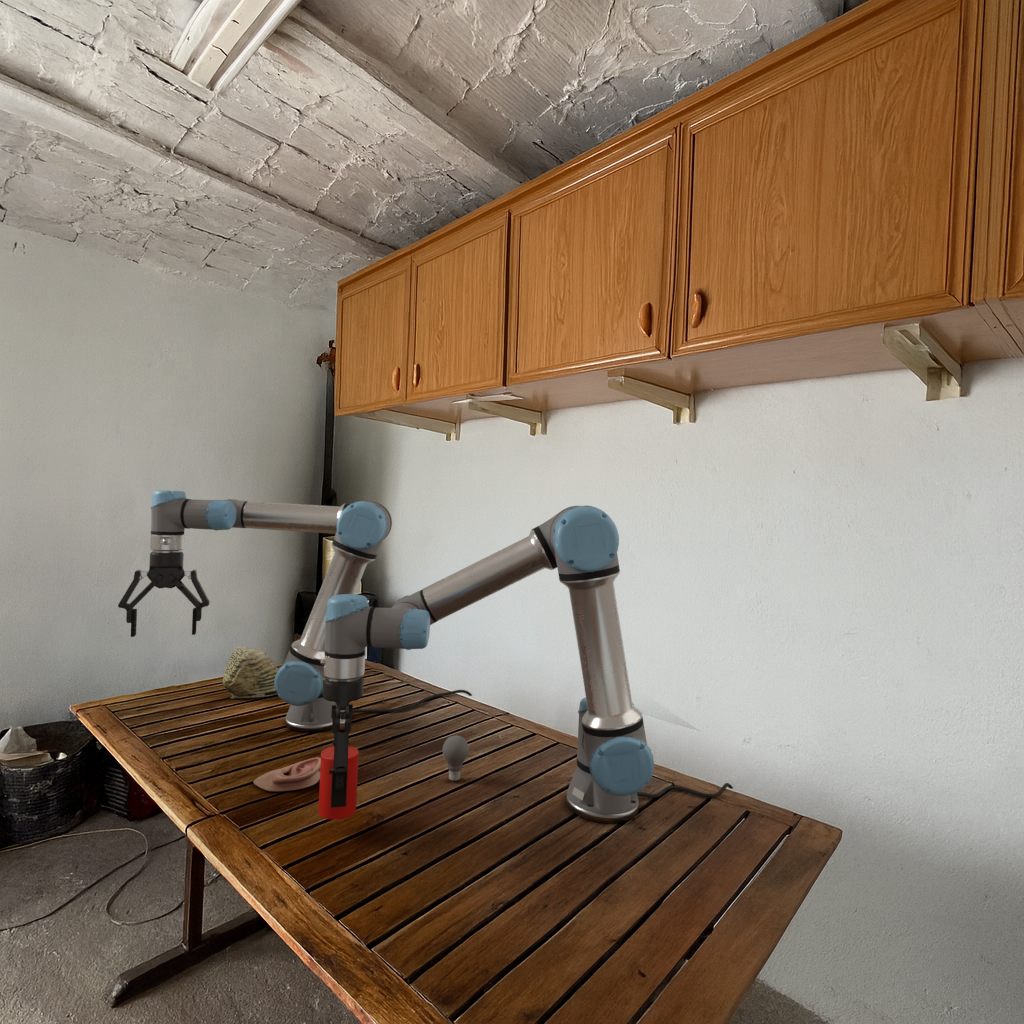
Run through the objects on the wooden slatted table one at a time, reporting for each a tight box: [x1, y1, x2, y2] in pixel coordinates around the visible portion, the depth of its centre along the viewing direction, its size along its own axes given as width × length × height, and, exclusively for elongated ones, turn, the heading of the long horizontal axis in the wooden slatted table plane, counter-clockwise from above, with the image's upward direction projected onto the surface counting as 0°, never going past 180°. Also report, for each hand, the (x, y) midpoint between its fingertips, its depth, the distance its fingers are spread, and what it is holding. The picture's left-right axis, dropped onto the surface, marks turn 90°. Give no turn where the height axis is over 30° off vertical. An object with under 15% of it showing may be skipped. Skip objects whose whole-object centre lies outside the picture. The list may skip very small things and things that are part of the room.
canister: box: [318, 745, 359, 821], centre depth 121 cm, size 7×7×11 cm
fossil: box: [222, 646, 279, 699], centre depth 198 cm, size 9×18×15 cm, turn 132°
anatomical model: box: [253, 757, 321, 792], centre depth 140 cm, size 13×4×12 cm
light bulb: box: [442, 734, 470, 782], centre depth 144 cm, size 6×6×10 cm
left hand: (164, 634), depth 161 cm, fingers open, 13 cm apart
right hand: (338, 796), depth 121 cm, fingers closed on canister, 7 cm apart
